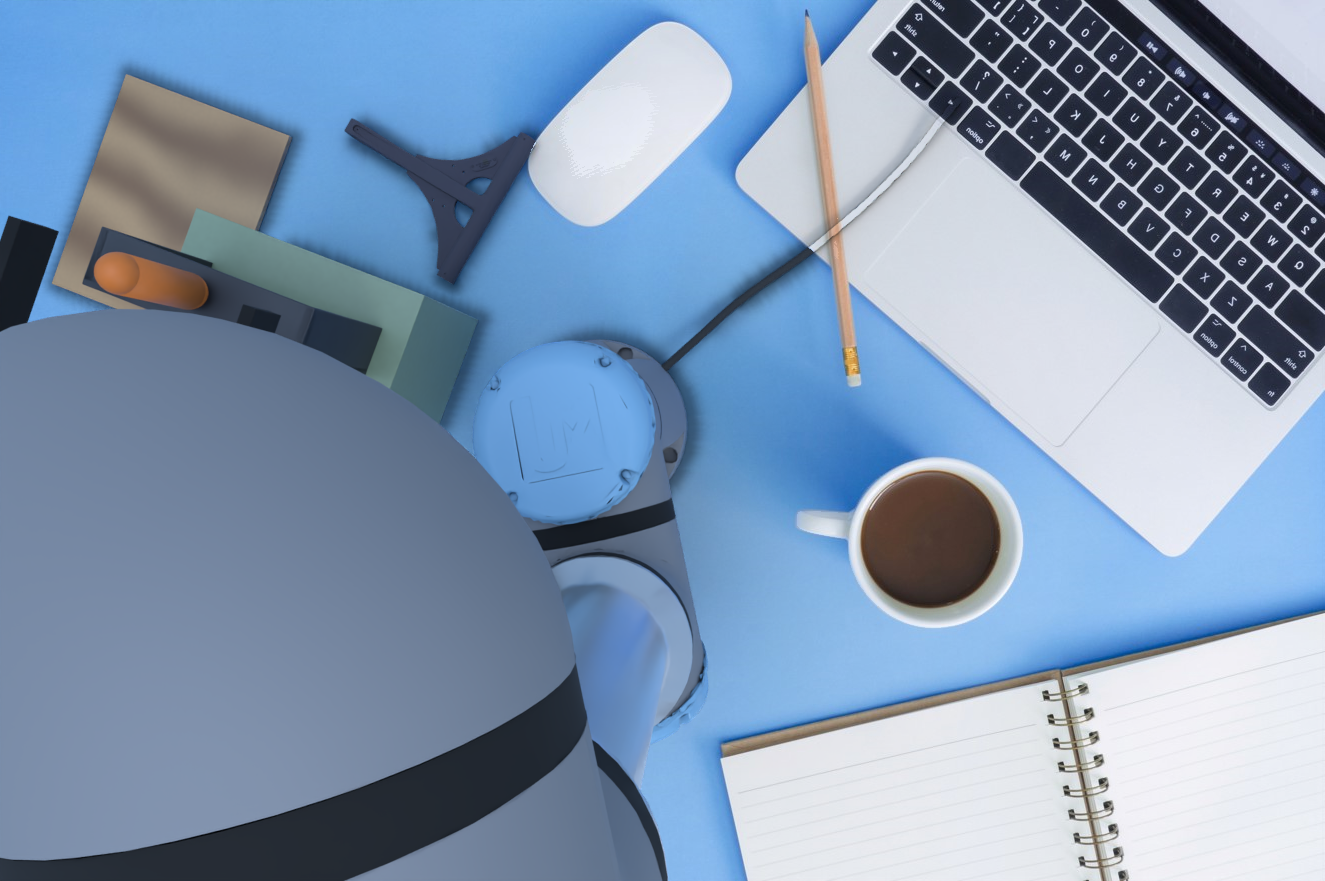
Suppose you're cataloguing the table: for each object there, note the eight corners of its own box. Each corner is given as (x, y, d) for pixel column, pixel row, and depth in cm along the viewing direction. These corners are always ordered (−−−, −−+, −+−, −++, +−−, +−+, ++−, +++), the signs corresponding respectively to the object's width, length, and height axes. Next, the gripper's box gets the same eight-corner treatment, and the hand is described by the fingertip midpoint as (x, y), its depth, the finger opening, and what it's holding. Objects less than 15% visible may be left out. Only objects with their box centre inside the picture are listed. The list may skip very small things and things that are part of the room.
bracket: (395, 60, 78) (384, 46, 75) (538, 144, 77) (531, 134, 75) (315, 201, 79) (300, 193, 76) (456, 286, 78) (446, 281, 75)
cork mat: (130, 76, 79) (125, 73, 79) (292, 137, 79) (289, 135, 78) (56, 284, 80) (51, 283, 79) (216, 347, 79) (212, 346, 79)
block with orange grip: (205, 260, 64) (-10, 189, 45) (383, 328, 63) (242, 286, 44) (188, 307, 64) (-34, 258, 45) (365, 376, 63) (217, 356, 44)
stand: (293, 248, 79) (196, 207, 64) (478, 319, 78) (424, 295, 63) (254, 353, 79) (149, 336, 64) (439, 424, 78) (376, 425, 63)
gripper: (-118, 539, 53) (-4, 205, 52) (262, 691, 52) (385, 352, 51) (-255, 558, 45) (-124, 168, 44) (187, 736, 44) (329, 339, 43)
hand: (148, 265), depth 48 cm, fingers open, 13 cm apart
